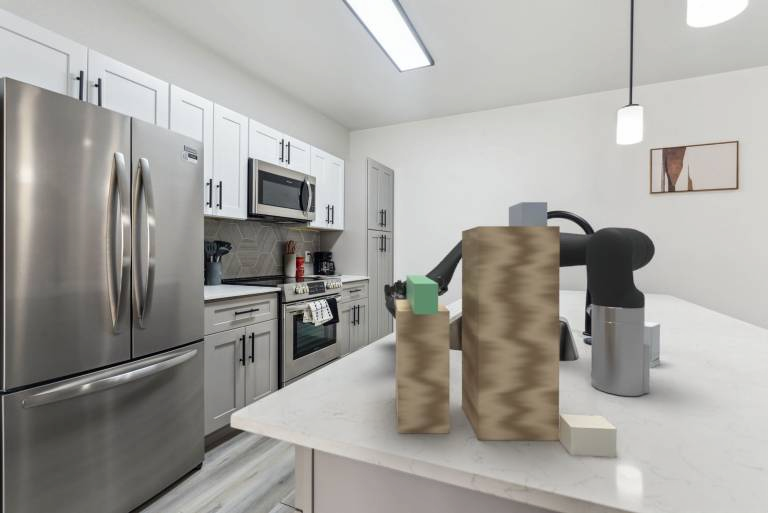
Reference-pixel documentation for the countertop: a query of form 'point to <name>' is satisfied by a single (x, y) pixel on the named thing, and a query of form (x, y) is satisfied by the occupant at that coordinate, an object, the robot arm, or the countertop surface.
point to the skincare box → (653, 342)
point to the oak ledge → (422, 370)
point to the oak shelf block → (511, 331)
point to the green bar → (422, 295)
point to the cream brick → (587, 435)
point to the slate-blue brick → (528, 214)
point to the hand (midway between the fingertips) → (420, 282)
